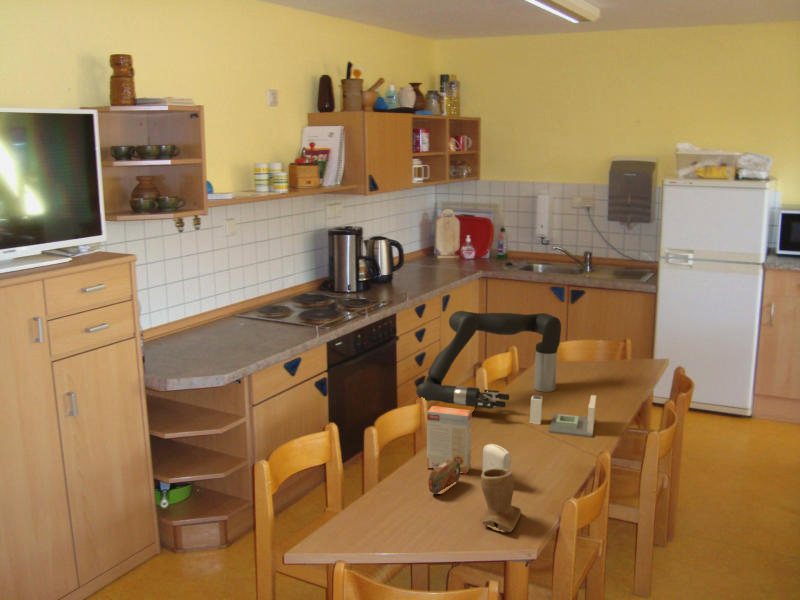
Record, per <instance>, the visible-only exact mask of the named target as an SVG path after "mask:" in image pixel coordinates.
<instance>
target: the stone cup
mask: <svg viewBox="0 0 800 600" xmlns="http://www.w3.org/2000/svg"><path fill="white" fill-rule="evenodd" d="M480 485H481V486H480V487H481V490H482V494H483V495H484V500H485V502H486V505H487V509H486V510H485V513H484V516H483V518H482V520H481V524H482V525H484V524H486V525H490V526H492V527H496V528H498V529H499V530H503V531H507V532H506V533H511V532H512V531H513V530H514V528H515V527H516V526H517V523H518V521H519V518H520V517H521V513H522V511H521V508H520V507H518V506H515V505H512V501H513V494H514V491H515V484H514V475H513V474H512V471H511V472H510V471H509V470H507V469H503V468H502V469H501V468H494V469H488V470H485V471H484V472H483V471H482V473H481V475H480Z"/></svg>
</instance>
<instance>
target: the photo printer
mask: <svg viewBox="0 0 800 600" xmlns="http://www.w3.org/2000/svg"><path fill="white" fill-rule="evenodd" d="M494 468H501V469H502V468H503V469H507V470H509V471H510V472H511V473H512V471H511V470H512V469H511V468H512V455H511V453H510V452H509V451H508V450H507V449H506V448H504V447H502V446H501V445H497V444H494V443H487V444H485V445H484V447H483V449H482V473H483V472H484V471H485V470H488V469H494Z"/></svg>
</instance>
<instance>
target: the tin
mask: <svg viewBox="0 0 800 600" xmlns="http://www.w3.org/2000/svg"><path fill="white" fill-rule="evenodd" d="M460 476H461V473H460V465H459V463H458V462H457V461H452V460H448V461H446V462H444V463H443V464H441V465H440V466H438V467H436V468H435V469H434V470H433V469H432V471H431V472H430V474H429V476H428V489H429V492H430V493H431V492H432V493H431V494H433V493H435V494H434V495H437V493H438V492H440V491H441V490H443V489H445V488H446V487H448V486H450V485H451V484H453V483H454V482H457V483H458V482H459V480H460Z"/></svg>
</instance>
